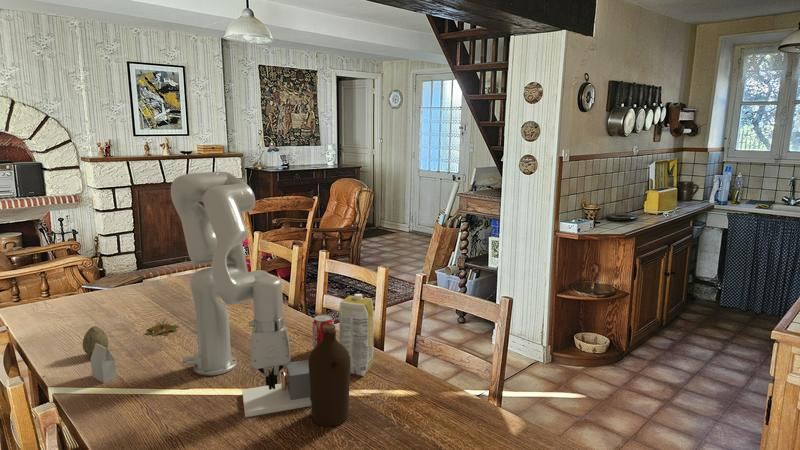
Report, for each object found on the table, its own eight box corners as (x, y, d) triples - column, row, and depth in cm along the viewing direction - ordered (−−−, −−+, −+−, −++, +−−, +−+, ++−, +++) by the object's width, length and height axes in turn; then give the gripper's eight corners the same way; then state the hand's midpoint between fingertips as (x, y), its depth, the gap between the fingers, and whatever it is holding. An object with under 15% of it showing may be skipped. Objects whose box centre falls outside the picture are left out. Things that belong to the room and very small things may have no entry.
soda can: (330, 357, 168) (329, 322, 166) (309, 355, 170) (308, 320, 167) (337, 348, 175) (336, 314, 173) (317, 346, 177) (316, 312, 174)
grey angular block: (104, 383, 150) (100, 351, 148) (92, 376, 154) (88, 345, 152) (116, 378, 153) (113, 346, 151) (105, 372, 157) (101, 341, 155)
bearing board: (245, 417, 134) (243, 386, 132) (242, 394, 145) (241, 366, 143) (347, 399, 143) (346, 370, 141) (337, 379, 154) (336, 352, 152)
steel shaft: (283, 395, 140) (282, 376, 139) (280, 385, 145) (279, 366, 144) (335, 386, 145) (335, 367, 144) (331, 377, 150) (331, 359, 149)
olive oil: (359, 415, 135) (359, 325, 131) (329, 433, 128) (327, 338, 123) (331, 401, 142) (330, 314, 137) (301, 417, 134) (298, 326, 129)
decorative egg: (114, 353, 169) (111, 324, 167) (93, 362, 163) (90, 332, 161) (100, 349, 172) (96, 320, 170) (79, 357, 166) (75, 328, 164)
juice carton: (375, 366, 162) (375, 293, 158) (365, 378, 155) (365, 302, 150) (348, 362, 165) (347, 290, 160) (337, 373, 158) (336, 298, 153)
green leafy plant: (186, 326, 194) (185, 314, 193) (169, 339, 182) (168, 326, 181) (155, 324, 195) (154, 313, 194) (136, 337, 183) (135, 325, 182)
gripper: (240, 332, 132) (243, 398, 135) (299, 325, 137) (301, 389, 140) (239, 321, 139) (242, 384, 142) (295, 315, 143) (297, 376, 147)
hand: (271, 386), depth 141 cm, fingers closed
